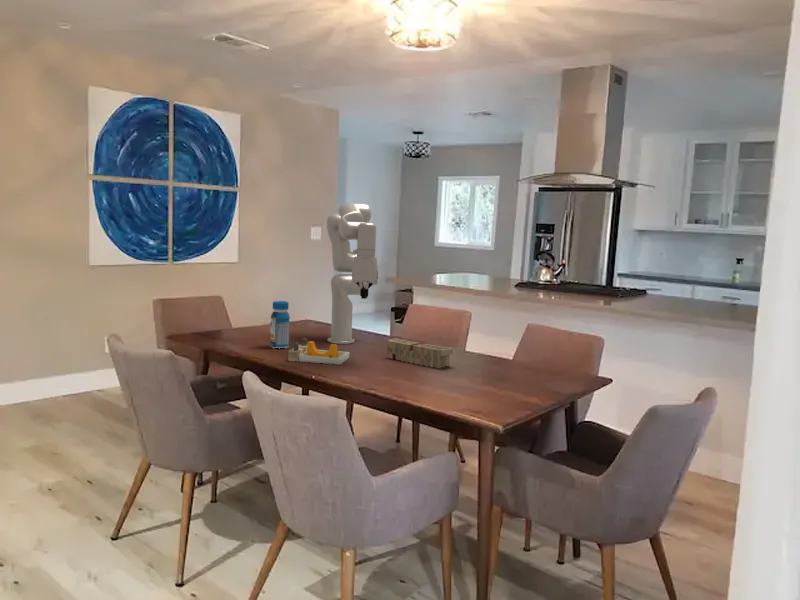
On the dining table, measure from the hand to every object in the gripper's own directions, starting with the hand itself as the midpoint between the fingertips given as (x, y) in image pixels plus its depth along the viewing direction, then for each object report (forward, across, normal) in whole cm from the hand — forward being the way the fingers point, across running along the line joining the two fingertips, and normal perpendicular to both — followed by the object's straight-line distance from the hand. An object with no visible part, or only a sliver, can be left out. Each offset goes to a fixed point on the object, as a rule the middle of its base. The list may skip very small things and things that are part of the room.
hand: (364, 298), depth 261 cm
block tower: (+26, +23, +3) cm, 34 cm away
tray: (+25, -13, -8) cm, 30 cm away
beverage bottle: (+25, -39, +8) cm, 47 cm away
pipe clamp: (+25, -14, -9) cm, 30 cm away
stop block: (+25, -24, -8) cm, 36 cm away
